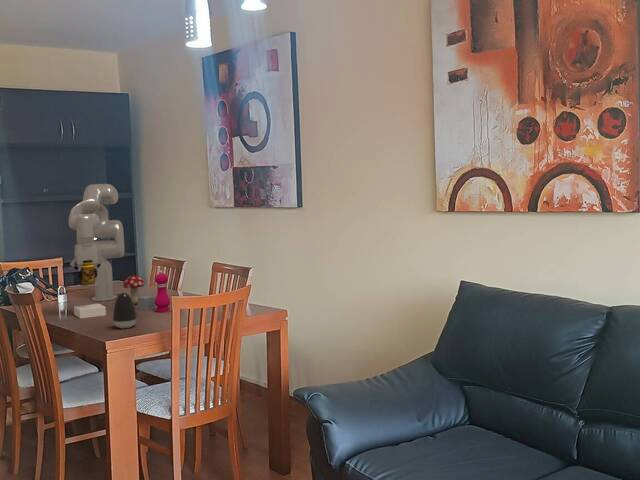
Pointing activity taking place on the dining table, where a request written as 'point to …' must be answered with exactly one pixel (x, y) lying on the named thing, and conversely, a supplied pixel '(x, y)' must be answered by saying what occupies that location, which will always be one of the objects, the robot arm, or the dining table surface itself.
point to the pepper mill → (161, 293)
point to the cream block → (89, 310)
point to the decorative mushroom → (134, 286)
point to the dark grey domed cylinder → (124, 311)
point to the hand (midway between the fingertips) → (87, 278)
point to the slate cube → (146, 303)
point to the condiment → (88, 274)
